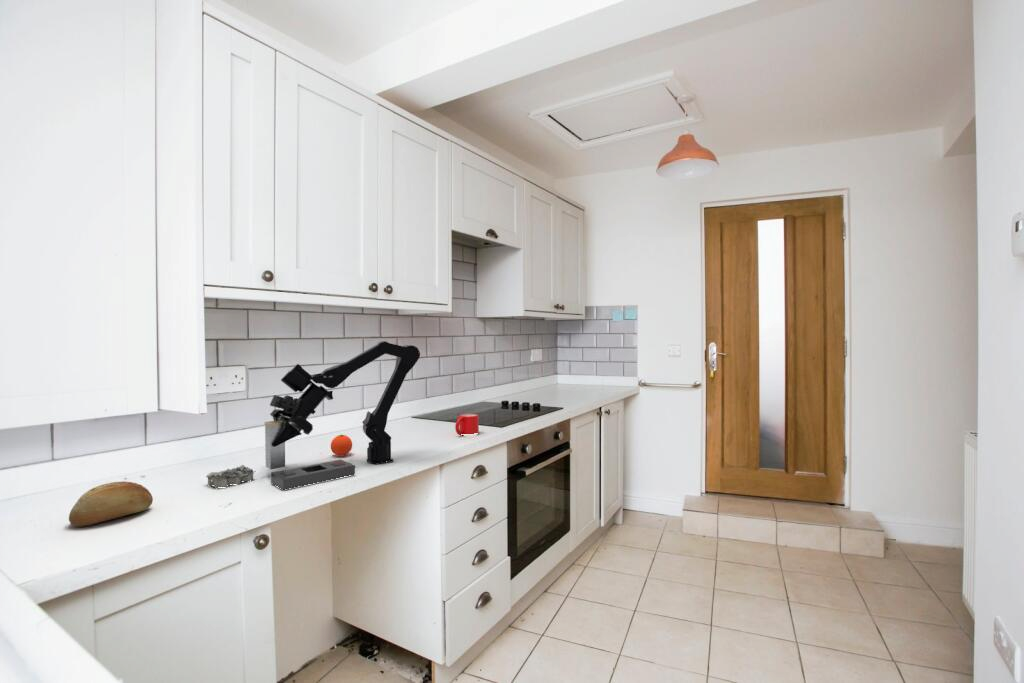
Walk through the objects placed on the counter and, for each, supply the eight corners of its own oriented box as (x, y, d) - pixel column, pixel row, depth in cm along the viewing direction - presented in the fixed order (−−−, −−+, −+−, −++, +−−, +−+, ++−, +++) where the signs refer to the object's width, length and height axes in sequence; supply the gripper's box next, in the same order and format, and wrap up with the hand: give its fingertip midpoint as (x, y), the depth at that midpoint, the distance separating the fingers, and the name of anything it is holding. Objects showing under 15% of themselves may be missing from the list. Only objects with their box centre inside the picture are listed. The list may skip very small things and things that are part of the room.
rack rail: (340, 469, 150) (340, 459, 150) (354, 475, 144) (354, 464, 144) (270, 483, 136) (270, 472, 136) (283, 490, 130) (283, 479, 130)
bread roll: (161, 512, 114) (161, 478, 114) (77, 534, 102) (77, 496, 102) (144, 504, 120) (143, 471, 119) (63, 524, 107) (62, 487, 107)
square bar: (280, 464, 146) (279, 420, 146) (285, 466, 143) (285, 421, 143) (265, 466, 143) (264, 422, 143) (270, 469, 140) (269, 423, 140)
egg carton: (216, 491, 130) (216, 475, 130) (203, 486, 135) (203, 471, 135) (257, 481, 139) (257, 466, 139) (244, 476, 143) (244, 462, 143)
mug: (448, 436, 198) (448, 417, 197) (466, 431, 208) (466, 412, 208) (464, 439, 193) (464, 418, 193) (482, 433, 204) (482, 414, 203)
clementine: (328, 453, 170) (328, 433, 169) (350, 451, 173) (349, 431, 173) (332, 459, 162) (331, 437, 162) (354, 456, 166) (353, 435, 165)
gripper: (276, 382, 152) (237, 423, 145) (301, 387, 139) (259, 432, 132) (303, 405, 158) (266, 445, 150) (328, 412, 145) (290, 456, 137)
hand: (270, 444), depth 142 cm, fingers closed on square bar, 4 cm apart
